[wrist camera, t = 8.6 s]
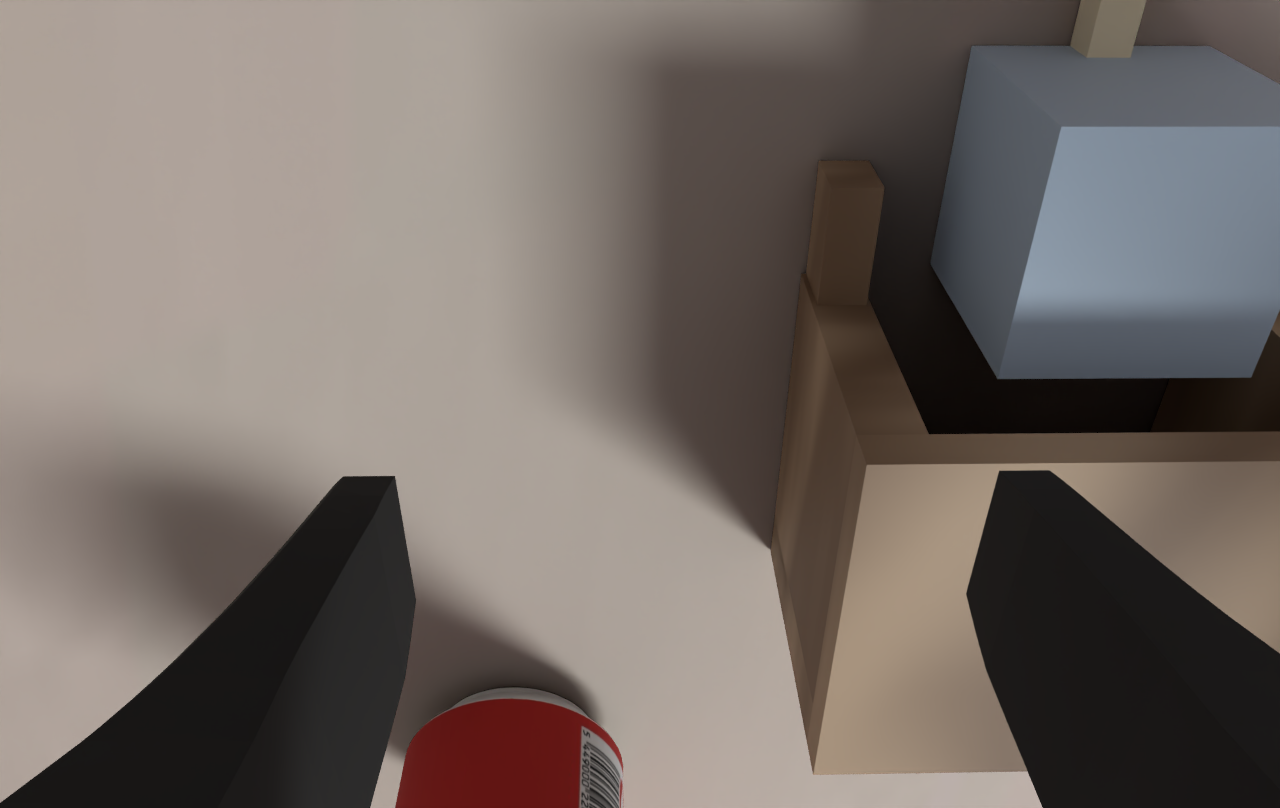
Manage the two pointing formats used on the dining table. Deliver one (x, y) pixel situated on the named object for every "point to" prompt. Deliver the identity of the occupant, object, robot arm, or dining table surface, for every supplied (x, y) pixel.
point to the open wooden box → (971, 516)
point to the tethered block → (1113, 206)
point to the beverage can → (512, 756)
